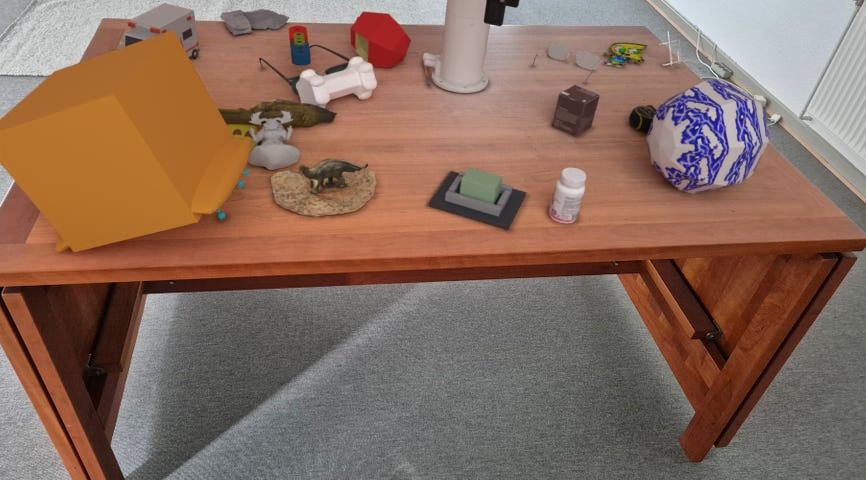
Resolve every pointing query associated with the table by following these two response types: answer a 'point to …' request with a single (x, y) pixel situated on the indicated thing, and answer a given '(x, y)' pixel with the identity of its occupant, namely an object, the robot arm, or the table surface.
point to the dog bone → (337, 83)
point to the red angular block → (379, 39)
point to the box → (575, 110)
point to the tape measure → (642, 117)
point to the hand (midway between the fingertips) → (501, 14)
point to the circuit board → (281, 100)
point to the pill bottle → (568, 195)
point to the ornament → (708, 137)
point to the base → (478, 203)
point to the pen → (426, 73)
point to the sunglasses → (334, 69)
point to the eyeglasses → (581, 57)
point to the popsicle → (243, 131)
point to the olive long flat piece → (299, 113)
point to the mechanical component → (299, 46)
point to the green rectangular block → (481, 185)
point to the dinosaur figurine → (324, 188)
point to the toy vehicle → (165, 27)
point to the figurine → (273, 143)
